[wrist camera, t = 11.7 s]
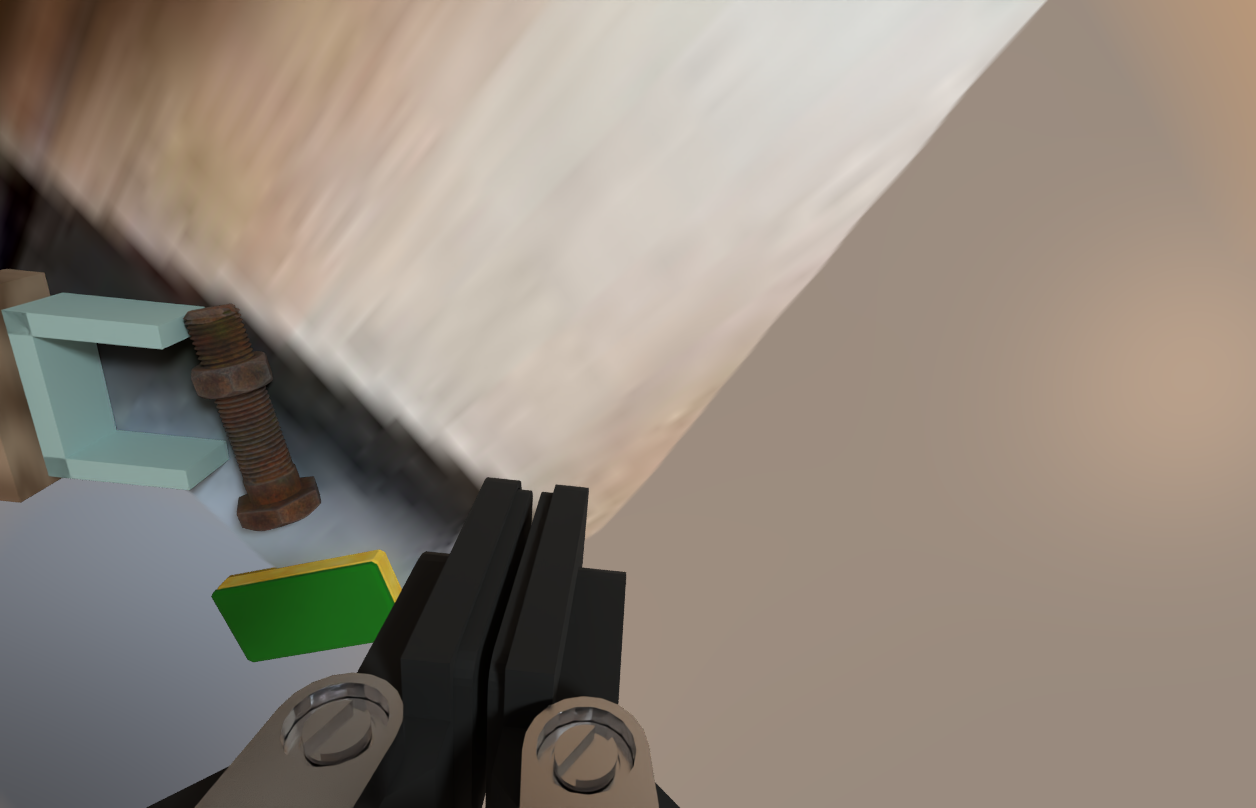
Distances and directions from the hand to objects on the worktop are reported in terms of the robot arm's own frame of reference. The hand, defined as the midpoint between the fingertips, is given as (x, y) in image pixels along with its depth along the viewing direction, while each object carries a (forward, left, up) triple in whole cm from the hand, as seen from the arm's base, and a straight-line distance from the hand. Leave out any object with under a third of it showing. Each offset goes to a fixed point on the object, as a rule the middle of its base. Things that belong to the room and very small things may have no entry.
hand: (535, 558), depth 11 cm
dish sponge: (+31, -22, -34) cm, 51 cm away
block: (+13, -32, -33) cm, 48 cm away
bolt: (+14, -24, -34) cm, 44 cm away
